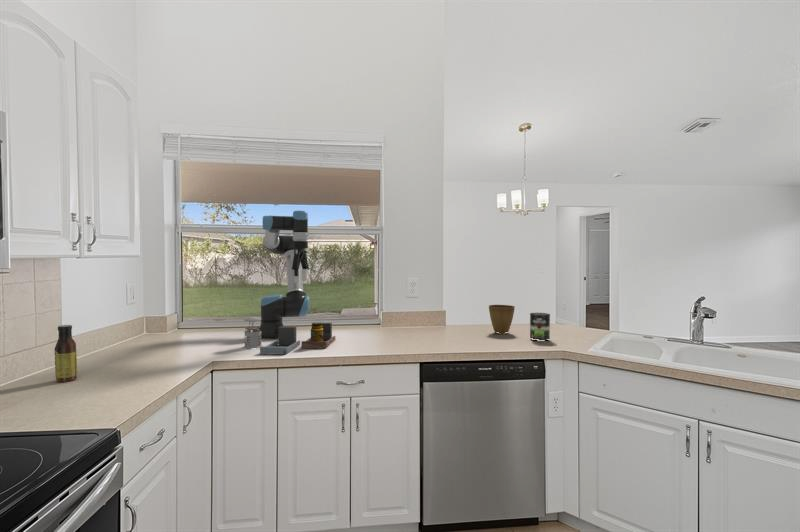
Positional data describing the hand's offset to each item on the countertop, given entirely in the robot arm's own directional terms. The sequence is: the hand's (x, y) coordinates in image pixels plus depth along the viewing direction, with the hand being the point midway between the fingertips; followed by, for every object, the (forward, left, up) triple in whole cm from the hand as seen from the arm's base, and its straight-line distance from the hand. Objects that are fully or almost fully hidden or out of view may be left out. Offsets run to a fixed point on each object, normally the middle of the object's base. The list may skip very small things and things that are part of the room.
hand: (300, 282), depth 224 cm
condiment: (+10, +10, -32) cm, 35 cm away
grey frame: (+17, -5, -31) cm, 36 cm away
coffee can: (-17, +126, -32) cm, 131 cm away
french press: (+11, -21, -32) cm, 40 cm away
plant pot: (-37, +109, -32) cm, 119 cm away
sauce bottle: (+73, -64, -32) cm, 102 cm away
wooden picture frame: (+3, +10, -31) cm, 33 cm away
